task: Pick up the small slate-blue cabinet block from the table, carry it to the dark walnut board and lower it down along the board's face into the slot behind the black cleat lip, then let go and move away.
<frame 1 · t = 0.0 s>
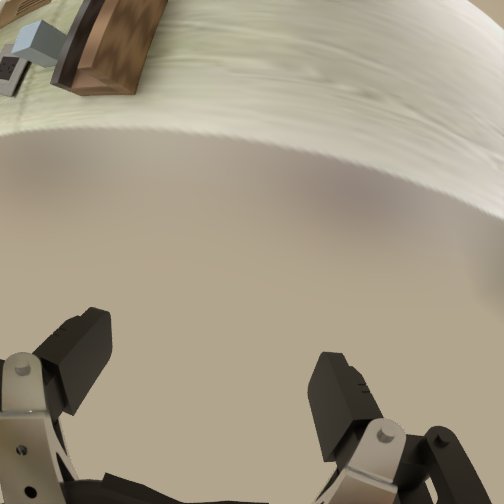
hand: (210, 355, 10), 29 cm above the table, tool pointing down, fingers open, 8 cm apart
banker's lamp: (25, 4, 23), on the table
electrical outlet: (13, 70, 29), on the table
cabinet block: (58, 53, 29), on the table
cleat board: (133, 43, 30), on the table
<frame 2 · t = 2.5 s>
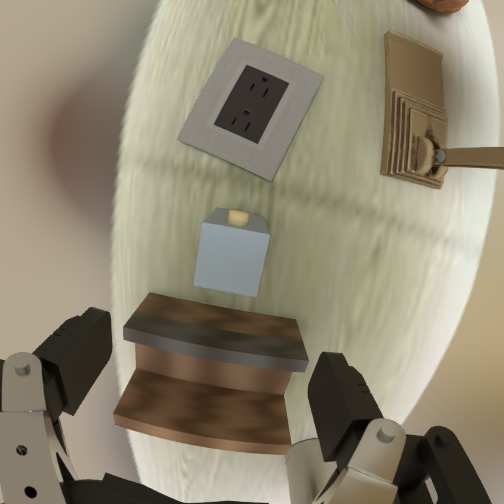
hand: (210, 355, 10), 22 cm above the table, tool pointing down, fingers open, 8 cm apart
banker's lamp: (412, 102, 27), on the table
electrical outlet: (251, 108, 28), on the table
cabinet block: (235, 234, 31), on the table
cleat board: (214, 354, 35), on the table
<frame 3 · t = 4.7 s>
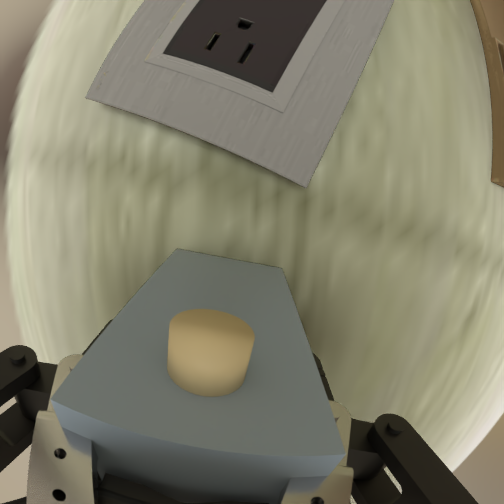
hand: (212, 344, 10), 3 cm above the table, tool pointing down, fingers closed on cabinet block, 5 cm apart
electrical outlet: (255, 31, 11), on the table
cabinet block: (220, 306, 14), on the table, touching gripper
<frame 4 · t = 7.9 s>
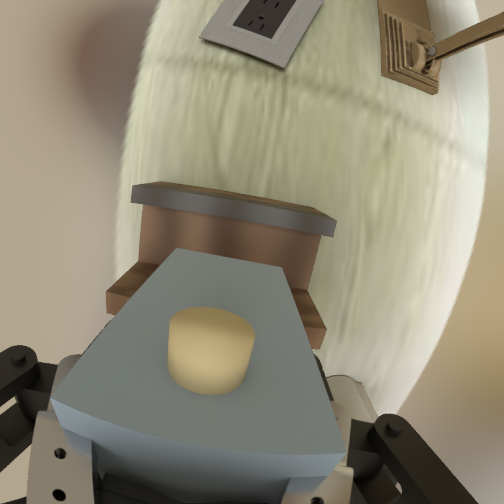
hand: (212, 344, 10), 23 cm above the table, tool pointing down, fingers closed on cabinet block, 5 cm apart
banker's lamp: (403, 26, 25), on the table
electrical outlet: (264, 20, 25), on the table
cabinet block: (220, 305, 14), point 19 cm above the table, touching gripper
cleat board: (226, 253, 33), on the table
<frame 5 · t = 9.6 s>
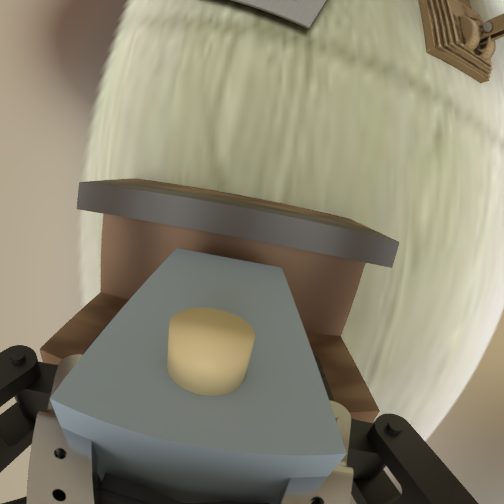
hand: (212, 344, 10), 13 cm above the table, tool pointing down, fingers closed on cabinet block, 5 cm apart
banker's lamp: (442, 3, 16), on the table
cabinet block: (220, 305, 14), point 10 cm above the table, touching gripper
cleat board: (226, 280, 23), on the table
when the fingers open (9 cm above the table, at t = 11.2 s): cabinet block stays where it is, resting on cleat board.
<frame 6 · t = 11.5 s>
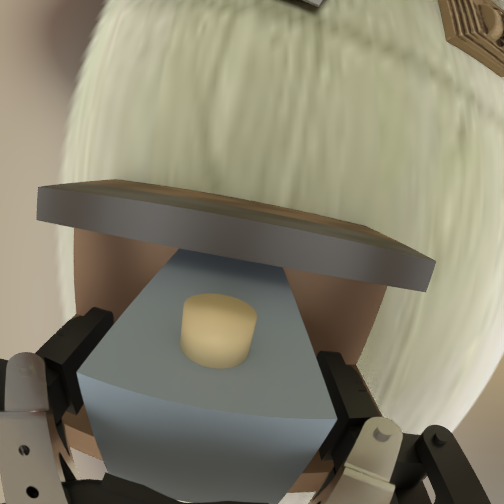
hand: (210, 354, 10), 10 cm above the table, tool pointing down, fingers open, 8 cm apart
cabinet block: (223, 299, 15), point 5 cm above the table, touching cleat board
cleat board: (222, 297, 20), on the table
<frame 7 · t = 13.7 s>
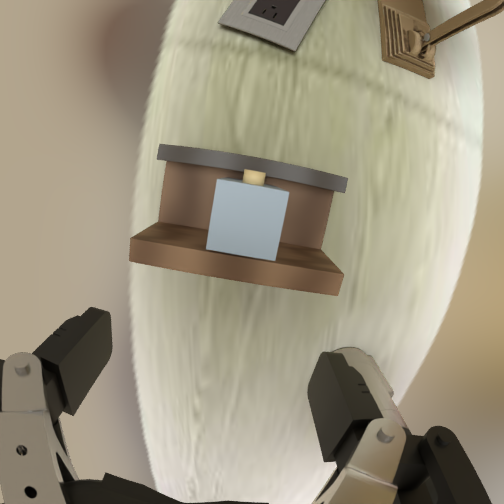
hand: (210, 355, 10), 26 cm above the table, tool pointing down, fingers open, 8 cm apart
banker's lamp: (401, 18, 26), on the table
electrical outlet: (275, 10, 27), on the table
cabinet block: (246, 204, 29), point 5 cm above the table, touching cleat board
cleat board: (242, 218, 34), on the table
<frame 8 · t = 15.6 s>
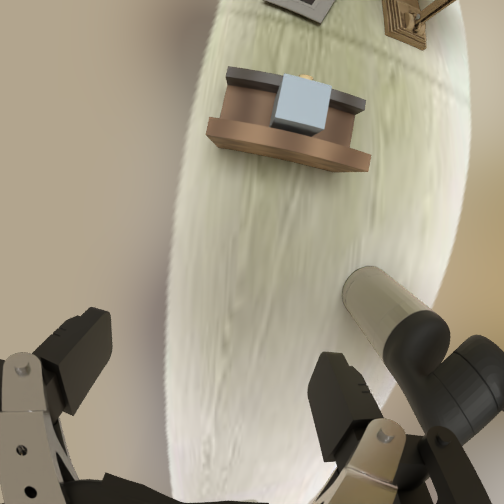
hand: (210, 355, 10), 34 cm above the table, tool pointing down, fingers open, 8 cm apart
banker's lamp: (399, 6, 32), on the table
cabinet block: (289, 119, 34), point 5 cm above the table, touching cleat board
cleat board: (281, 139, 39), on the table
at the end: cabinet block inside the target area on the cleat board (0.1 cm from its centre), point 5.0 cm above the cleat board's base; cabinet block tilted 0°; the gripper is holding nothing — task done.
